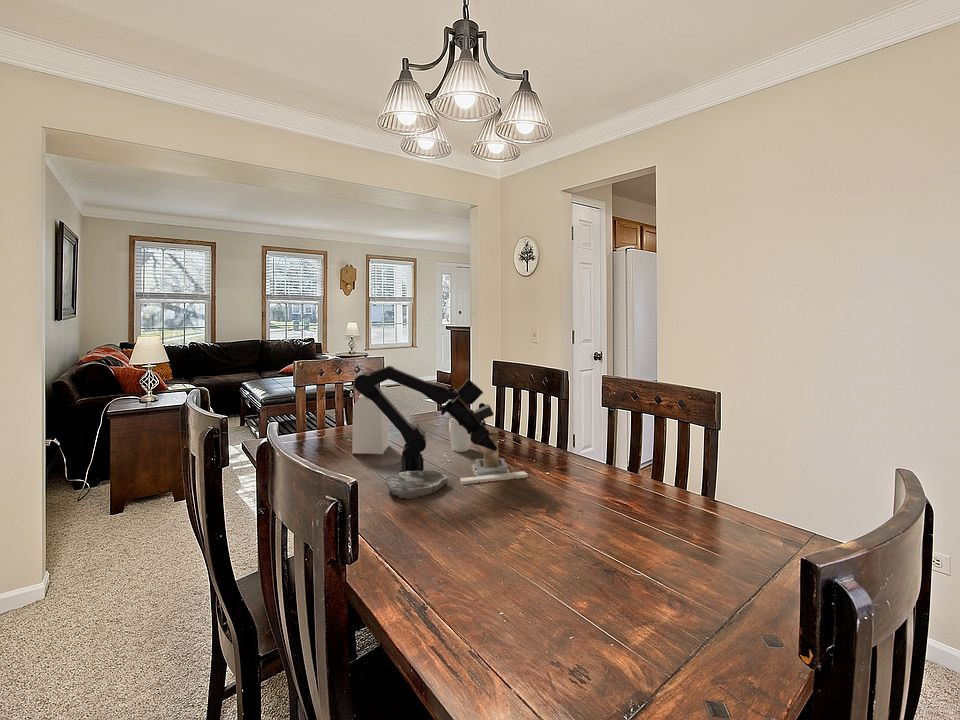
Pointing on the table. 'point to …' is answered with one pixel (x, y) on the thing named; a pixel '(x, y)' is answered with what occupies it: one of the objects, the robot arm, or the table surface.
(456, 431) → the cup
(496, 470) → the keeper
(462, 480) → the door edge strip
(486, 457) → the block
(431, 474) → the brain slice
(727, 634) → the table surface
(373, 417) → the milk
